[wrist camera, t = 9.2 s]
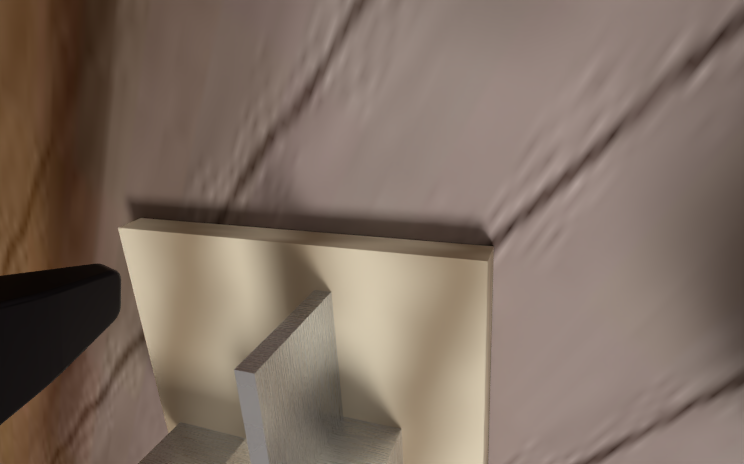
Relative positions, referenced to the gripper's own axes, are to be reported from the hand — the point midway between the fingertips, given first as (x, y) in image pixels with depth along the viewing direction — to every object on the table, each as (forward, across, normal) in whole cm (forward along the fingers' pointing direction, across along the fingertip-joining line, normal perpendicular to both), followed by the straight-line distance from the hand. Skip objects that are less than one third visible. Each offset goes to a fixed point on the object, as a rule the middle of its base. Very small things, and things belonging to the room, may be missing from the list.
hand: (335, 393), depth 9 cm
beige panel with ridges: (+13, +4, +14) cm, 20 cm away
